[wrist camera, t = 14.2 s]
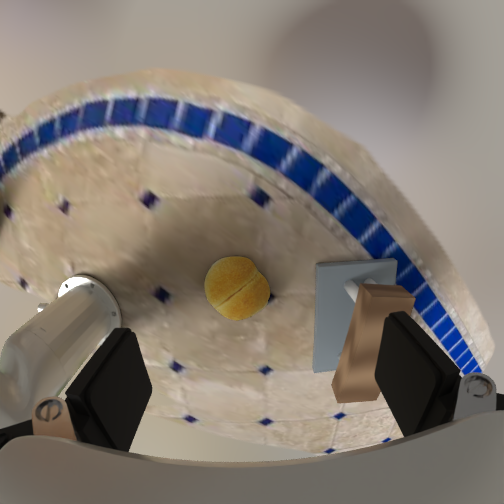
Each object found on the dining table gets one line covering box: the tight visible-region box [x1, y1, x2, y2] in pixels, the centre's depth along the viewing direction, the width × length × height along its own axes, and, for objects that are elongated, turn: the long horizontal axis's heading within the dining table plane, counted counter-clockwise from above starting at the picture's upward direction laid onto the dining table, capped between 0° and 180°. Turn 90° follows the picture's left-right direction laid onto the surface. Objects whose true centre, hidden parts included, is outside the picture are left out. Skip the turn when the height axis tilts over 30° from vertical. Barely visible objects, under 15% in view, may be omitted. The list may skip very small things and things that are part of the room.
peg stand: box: [312, 258, 397, 373], centre depth 38 cm, size 12×18×6 cm, turn 4°
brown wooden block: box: [331, 283, 416, 403], centre depth 32 cm, size 16×6×4 cm, turn 174°
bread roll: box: [204, 256, 270, 321], centre depth 38 cm, size 8×9×4 cm
